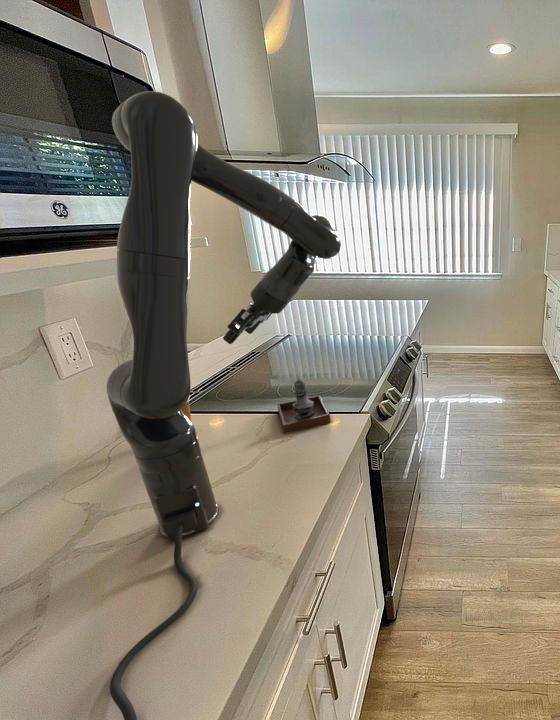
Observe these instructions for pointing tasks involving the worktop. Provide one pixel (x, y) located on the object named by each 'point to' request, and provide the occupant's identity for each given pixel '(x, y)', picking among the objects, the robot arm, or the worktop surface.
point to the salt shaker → (302, 401)
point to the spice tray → (295, 424)
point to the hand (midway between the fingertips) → (237, 336)
